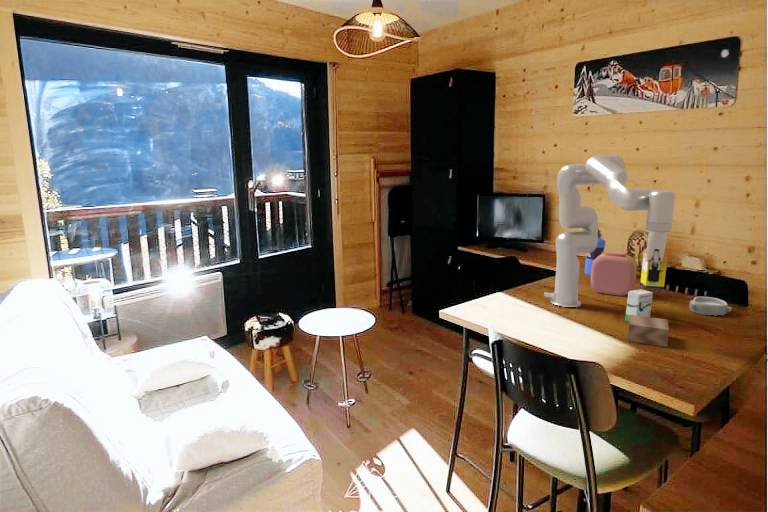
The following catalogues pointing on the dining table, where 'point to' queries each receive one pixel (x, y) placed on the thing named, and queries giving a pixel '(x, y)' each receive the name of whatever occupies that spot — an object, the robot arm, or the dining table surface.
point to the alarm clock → (613, 273)
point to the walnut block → (648, 330)
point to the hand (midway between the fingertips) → (652, 278)
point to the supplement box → (646, 270)
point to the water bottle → (594, 254)
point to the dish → (709, 306)
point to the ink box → (638, 303)
